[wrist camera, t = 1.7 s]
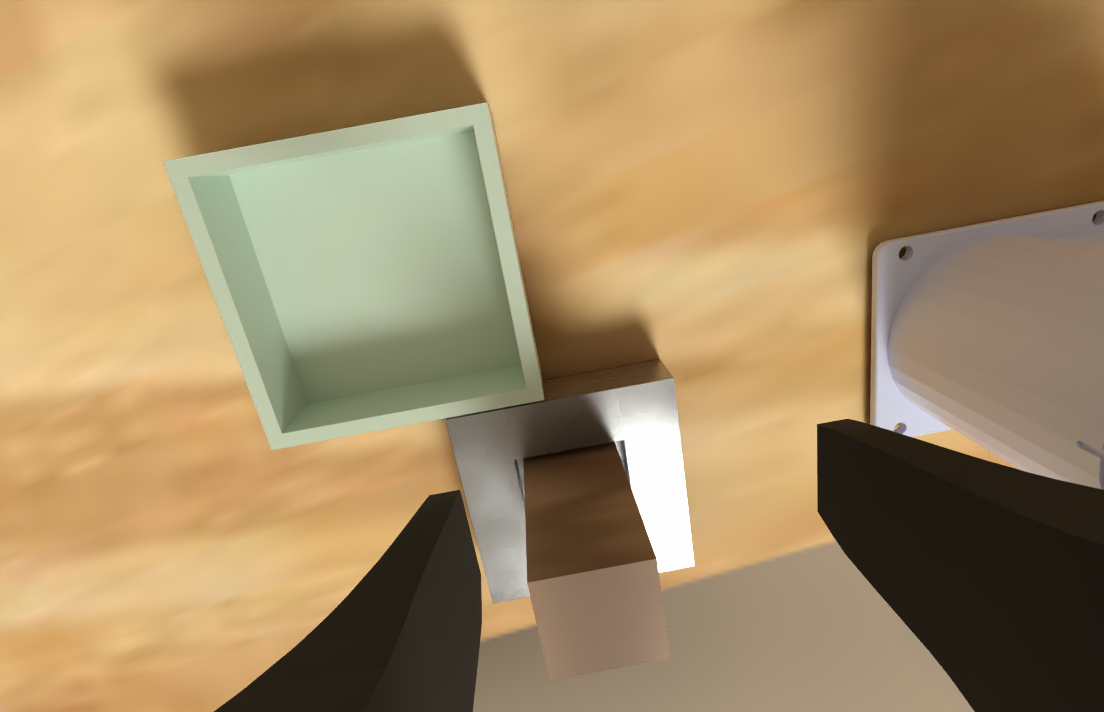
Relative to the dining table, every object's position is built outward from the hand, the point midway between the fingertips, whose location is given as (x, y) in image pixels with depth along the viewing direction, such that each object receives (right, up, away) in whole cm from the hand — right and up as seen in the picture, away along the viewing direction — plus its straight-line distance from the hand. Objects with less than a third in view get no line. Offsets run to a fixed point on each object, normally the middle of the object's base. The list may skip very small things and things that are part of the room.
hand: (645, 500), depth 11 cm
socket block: (-1, -2, +11) cm, 12 cm away
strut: (-1, -2, +11) cm, 11 cm away
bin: (-7, +6, +9) cm, 13 cm away
